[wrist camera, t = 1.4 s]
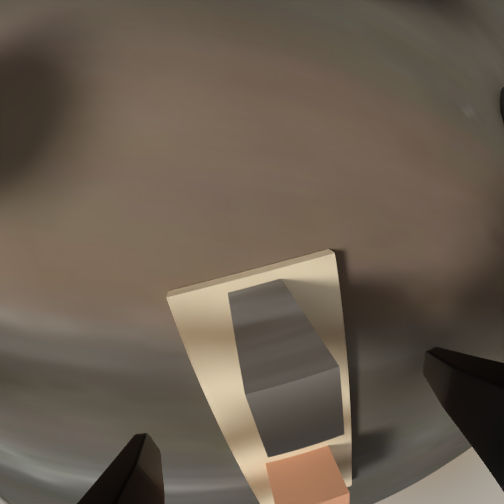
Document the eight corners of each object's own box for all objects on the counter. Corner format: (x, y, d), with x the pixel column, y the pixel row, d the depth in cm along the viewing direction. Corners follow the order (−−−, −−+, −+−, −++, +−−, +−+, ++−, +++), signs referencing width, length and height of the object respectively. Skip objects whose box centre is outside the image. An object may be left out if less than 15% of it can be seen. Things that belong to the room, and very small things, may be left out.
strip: (348, 479, 21) (378, 542, 13) (262, 504, 20) (278, 572, 13) (328, 248, 15) (425, 316, 7) (168, 291, 14) (136, 399, 7)
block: (331, 474, 19) (348, 515, 15) (276, 489, 19) (287, 533, 14) (327, 445, 18) (349, 492, 13) (265, 463, 17) (277, 514, 13)
